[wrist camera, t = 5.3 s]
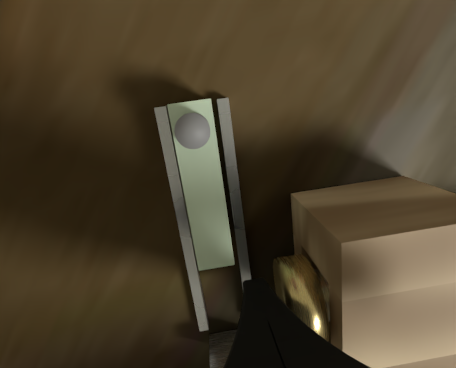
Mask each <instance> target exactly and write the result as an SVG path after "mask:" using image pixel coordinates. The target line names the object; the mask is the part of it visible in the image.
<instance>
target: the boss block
mask: <svg viewBox="0 0 456 368" xmlns="http://www.w3.org/2000/svg"><path fill="white" fill-rule="evenodd" d="M290 194H291V208H292V223H293V238H294V252H295V255H296V254H303V255H304V256H305V257H306V258H307V259H308V260H309V262H310V263H311V265H312V267H313V269H314V270H315V269H319V271H320V272H321V273H322V275H323V276H324V278H325V279H326V280H327V282H328V283H329V305H330V322H329V329H330V336H329V343H331V344H332V345H334V346H335V347H337V348H338V349H340V350H341V351H343V352H344V353H346V354H347V355H349V356H351V357H353V358H354V359H356V360H358V361H360V362H361V363H363V364H365V365H367V366H369V367H371V368H456V194H455V193H452V192H449V191H446V190H443V189H440V188H438V187H435V186H432V185H429V184H426V183H423V182H420V181H417V180H414V179H411V178H408V177H405V176H399V177H393V178H386V179H380V180H374V181H367V182H361V183H354V184H348V185H341V186H335V187H329V188H322V189H316V190H309V191H303V192H296V193H290Z"/></svg>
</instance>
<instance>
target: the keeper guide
mask: <svg viewBox="0 0 456 368" xmlns="http://www.w3.org/2000/svg"><path fill="white" fill-rule="evenodd" d="M216 101H217V108H218V116H219V123H220V130H221V137H222V145H223V152H224V159H225V166H226V173H227V181H228V188H229V195H230V202H231V210H232V217H233V224H234V231H235V239H236V246H237V253H238V260H239V267H240V275H241V282H242V283H243V282H244V281H245V280H250V279H251V274H250V266H249V258H248V250H247V242H246V234H245V226H244V218H243V210H242V202H241V194H240V186H239V178H238V170H237V162H236V154H235V146H234V138H233V130H232V122H231V114H230V106H229V98H222V99H217V100H216ZM154 110H155V115H156V120H157V125H158V130H159V135H160V139H161V144H162V149H163V154H164V159H165V164H166V169H167V174H168V179H169V184H170V188H171V193H172V198H173V203H174V208H175V213H176V218H177V223H178V228H179V232H180V237H181V242H182V247H183V252H184V257H185V262H186V267H187V272H188V277H189V281H190V286H191V291H192V296H193V301H194V306H195V311H196V316H197V321H198V326H199V330H200V331H205V330H209V321H208V316H207V311H206V306H205V300H204V295H203V290H202V285H201V279H200V274H199V270H198V265H197V260H196V254H195V249H194V244H193V239H192V233H191V228H190V223H189V218H188V212H187V207H186V202H185V196H184V191H183V186H182V181H181V175H180V170H179V165H178V160H177V154H176V149H175V144H174V139H173V133H172V128H171V123H170V118H169V112H168V107H167V106H164V107H156V108H154ZM242 289H243V284H242ZM236 331H237V329H235V330H230V331H224V332H218V333H213V334H209V351H210V368H224V365H225V363H226V360H227V358H228V355H229V353H230V350H231V347H232V344H233V341H234V338H235V335H236Z"/></svg>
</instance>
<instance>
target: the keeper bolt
mask: <svg viewBox="0 0 456 368" xmlns="http://www.w3.org/2000/svg"><path fill="white" fill-rule="evenodd" d="M167 107H168V112H169V118H170V123H171V128H172V133H173V139H174V144H175V149H176V154H177V160H178V165H179V170H180V175H181V181H182V186H183V191H184V196H185V202H186V207H187V212H188V218H189V223H190V228H191V233H192V239H193V244H194V249H195V254H196V260H197V265H198V270H199V271H201V270H207V269H213V268H219V267H225V266H231V265H235V262H234V255H233V248H232V241H231V234H230V227H229V220H228V214H227V207H226V200H225V193H224V186H223V179H222V172H221V165H220V158H219V151H218V144H217V137H216V130H215V123H214V116H213V109H212V102H211V98H210V99H203V100H196V101H188V102H181V103H174V104H167Z"/></svg>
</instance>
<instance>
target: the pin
mask: <svg viewBox="0 0 456 368" xmlns="http://www.w3.org/2000/svg"><path fill="white" fill-rule="evenodd" d="M273 275H274V283H275V290H276V295H277V296H278V297H279V298H280V299H281V300H282V301H283V302H284V303H285V304H286V306H287V307H288V308H289V309H290V310H291V311H292V312H293V313H294V314H295V315H296V316H298V317H299V318H300V319H301V320H302V321H303V322H304V323H305V324H306V325H307V326H309V327H310V328H311V329H312V330H314V331H315V332H316V333H317V334H319V335H320V336H321V337H323V338H324V339H325V340H327V341H328V342H329V336H330V329H329V322H330V305H329V283H328V282H327V280H326V279H325V278H324V276H323V275H322V273H321V272H320V271H319V269H315V270H314V269H313V267H312V265H311V263H310V262H309V260H308V259H307V258H306V257H305V256H304V255H303V254H296V255H290V256H284V257H278V258H275V259H274V261H273Z"/></svg>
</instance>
